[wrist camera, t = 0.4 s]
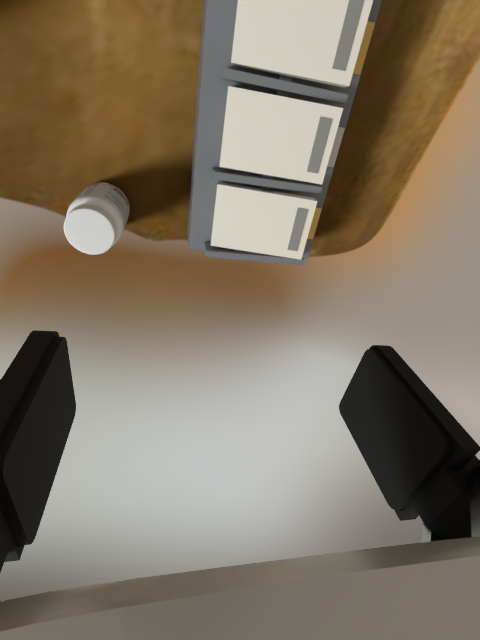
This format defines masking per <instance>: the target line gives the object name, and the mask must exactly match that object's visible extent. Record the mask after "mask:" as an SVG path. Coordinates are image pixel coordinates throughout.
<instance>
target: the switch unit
mask: <svg viewBox="0 0 480 640" xmlns="http://www.w3.org/2000/svg"><path fill="white" fill-rule="evenodd" d="M237 3H238V0H203V14H202V28H201V43H200V57H199V72H198V86H197V100H196V115H195V129H194V144H193V158H192V173H191V187H190V202H189V216H188V230H187V235H188V246H189V249H195V250H204V252H205V256H206V257H214V258H225V259H239V260H249V261H261V262H273V263H286V264H296V265H303V262H304V259H308V256H309V253H310V249H311V246H312V242H313V239H314V236H315V232H316V229H317V225H318V222H319V218H320V215H321V211H322V208H323V204H324V201H325V197H326V194H327V190H328V187H329V183H330V180H331V177H332V173H333V170H334V166H335V163H336V159H337V156H338V152H339V149H340V145H341V142H342V138H343V135H344V131H345V128H346V125H347V121H348V118H349V114H350V111H351V107H352V104H353V100H354V97H355V93H356V90H357V86H358V83H359V79H360V76H361V72H362V69H363V66H364V62H365V59H366V55H367V52H368V48H369V45H370V41H371V38H372V34H373V31H374V27H375V24H376V20H377V17H378V14H379V10H380V7H381V3H382V0H373V3H372V6H371V10H370V14H369V17H368V21H367V25H366V28H365V32H364V35H363V39H362V43H361V46H360V50H359V53H358V57H357V61H356V64H355V68H354V71H353V75H352V79H351V82H350V86H348V87H339V86H334V85H329V84H324V83H319V82H314V81H309V80H304V79H299V78H294V77H288V76H284V75H279V74H274V73H269V72H264V71H259V70H254V69H249V68H244V67H239V66H234V65H231V57H232V48H233V39H234V30H235V21H236V12H237ZM228 86H231V87H236V88H242V89H247V90H252V91H257V92H262V93H267V94H273V95H278V96H283V97H288V98H293V99H298V100H304V101H309V102H314V103H319V104H324V105H329V106H335V107H340V108H343V111H342V115H341V118H340V122H339V126H338V129H337V133H336V136H335V140H334V144H333V147H332V151H331V154H330V158H329V162H328V165H327V169H326V172H325V176H324V180H323V183H322V185H321V184H316V183H310V182H304V181H299V180H293V179H287V178H281V177H276V176H270V175H264V174H258V173H253V172H247V171H241V170H235V169H230V168H224V167H219V165H220V156H221V147H222V138H223V129H224V120H225V111H226V102H227V93H228ZM218 181H219V182H225V183H231V184H237V185H242V186H248V187H254V188H260V189H268V190H272V191H278V192H284V193H289V194H295V195H301V196H307V197H313V198H315V199H316V200H317V205H316V209H315V212H314V216H313V219H312V223H311V227H310V230H309V234H308V237H307V241H306V245H305V248H304V252H303V255H302V259H301V260H300V259H294V258H287V257H281V256H274V255H268V254H261V253H255V252H248V251H242V250H235V249H229V248H223V247H216V246H211V237H212V228H213V219H214V210H215V201H216V192H217V184H218Z"/></svg>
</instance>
